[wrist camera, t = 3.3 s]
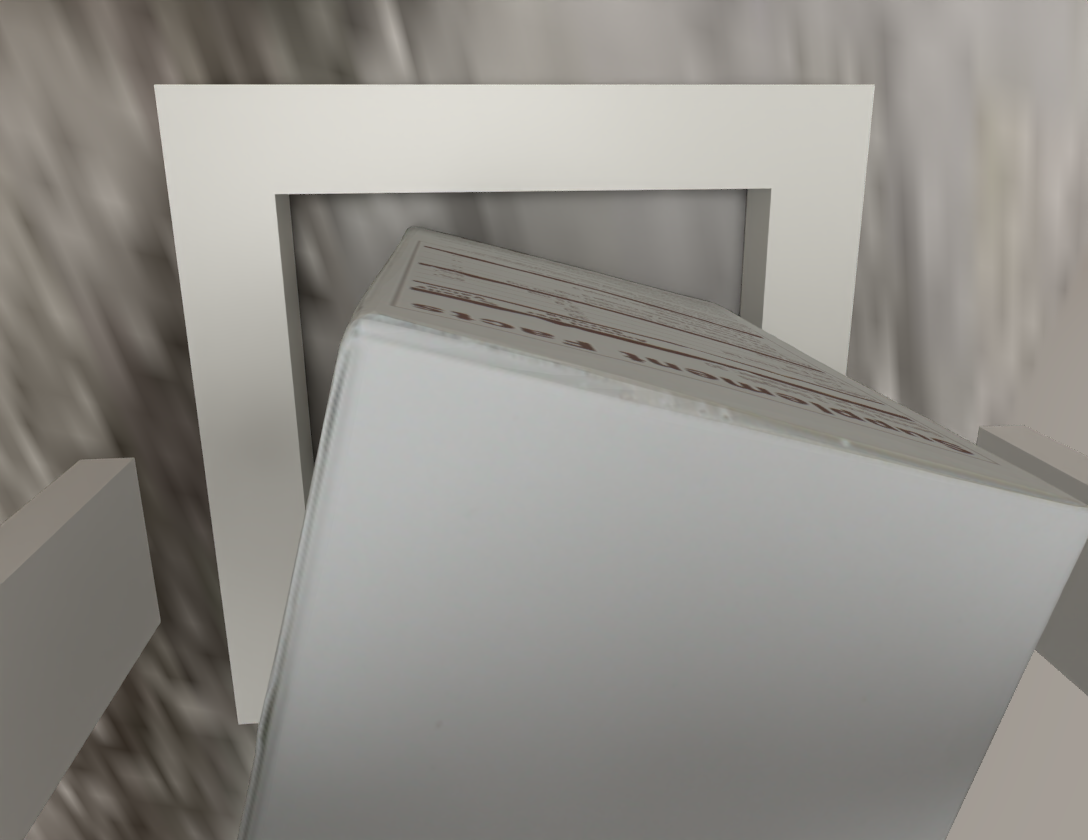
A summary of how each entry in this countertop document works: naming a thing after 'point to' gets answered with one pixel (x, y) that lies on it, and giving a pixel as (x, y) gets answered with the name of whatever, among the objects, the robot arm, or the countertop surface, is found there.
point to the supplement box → (635, 578)
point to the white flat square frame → (458, 166)
